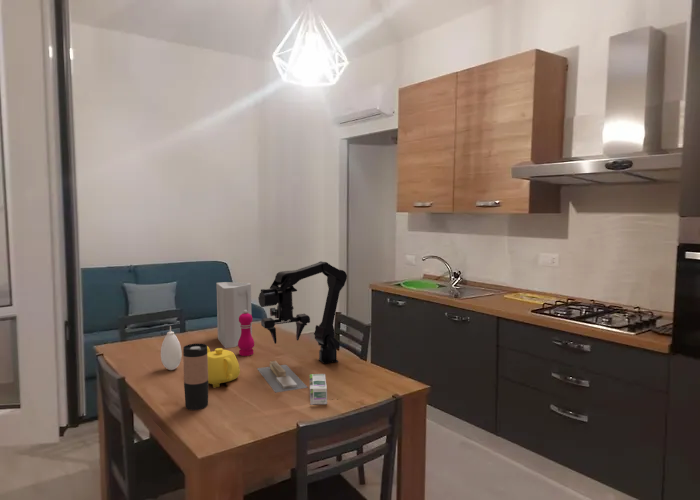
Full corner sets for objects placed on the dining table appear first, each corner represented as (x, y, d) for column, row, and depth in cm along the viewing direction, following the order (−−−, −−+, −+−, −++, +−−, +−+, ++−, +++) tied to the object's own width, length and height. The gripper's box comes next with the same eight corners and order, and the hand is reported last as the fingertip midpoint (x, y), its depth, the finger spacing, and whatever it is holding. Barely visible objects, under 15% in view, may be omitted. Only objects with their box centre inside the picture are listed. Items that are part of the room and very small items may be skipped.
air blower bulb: (185, 369, 200) (184, 325, 198) (167, 374, 194) (165, 329, 192) (176, 365, 205) (174, 322, 203) (157, 369, 199) (156, 325, 198)
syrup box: (325, 373, 178) (327, 387, 163) (325, 389, 178) (327, 404, 164) (309, 374, 177) (309, 388, 163) (309, 390, 178) (310, 405, 163)
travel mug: (187, 401, 166) (186, 343, 165) (211, 400, 167) (209, 343, 165) (182, 410, 159) (180, 350, 157) (206, 410, 160) (204, 349, 158)
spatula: (279, 367, 198) (279, 360, 198) (297, 387, 177) (297, 379, 176) (266, 368, 196) (266, 361, 196) (283, 389, 175) (283, 381, 174)
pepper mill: (250, 356, 216) (249, 311, 214) (235, 355, 218) (234, 311, 216) (257, 352, 223) (256, 308, 221) (242, 351, 225) (241, 307, 223)
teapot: (214, 393, 174) (213, 357, 173) (188, 378, 189) (187, 346, 188) (247, 383, 184) (247, 350, 182) (221, 370, 198) (220, 339, 197)
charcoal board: (286, 367, 202) (285, 364, 202) (308, 390, 176) (308, 387, 176) (256, 371, 197) (256, 368, 197) (275, 395, 172) (275, 392, 171)
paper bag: (256, 344, 236) (255, 286, 233) (224, 348, 230) (223, 288, 227) (246, 334, 253) (245, 280, 251) (217, 338, 247) (216, 282, 244)
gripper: (300, 297, 207) (301, 334, 209) (256, 302, 199) (258, 340, 201) (310, 302, 197) (311, 340, 199) (264, 307, 189) (265, 347, 191)
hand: (286, 341), depth 198 cm, fingers open, 9 cm apart
